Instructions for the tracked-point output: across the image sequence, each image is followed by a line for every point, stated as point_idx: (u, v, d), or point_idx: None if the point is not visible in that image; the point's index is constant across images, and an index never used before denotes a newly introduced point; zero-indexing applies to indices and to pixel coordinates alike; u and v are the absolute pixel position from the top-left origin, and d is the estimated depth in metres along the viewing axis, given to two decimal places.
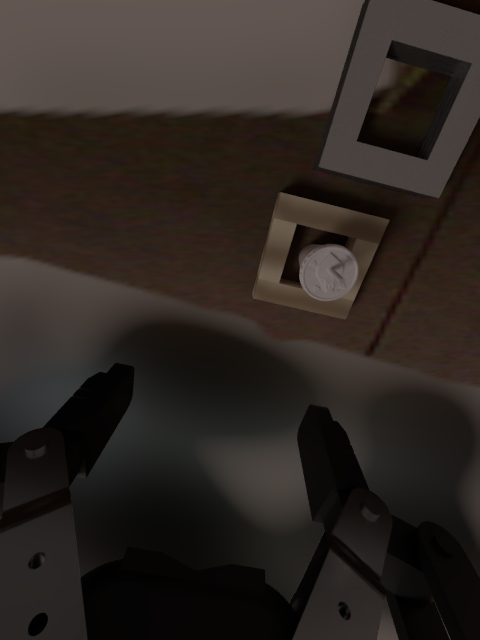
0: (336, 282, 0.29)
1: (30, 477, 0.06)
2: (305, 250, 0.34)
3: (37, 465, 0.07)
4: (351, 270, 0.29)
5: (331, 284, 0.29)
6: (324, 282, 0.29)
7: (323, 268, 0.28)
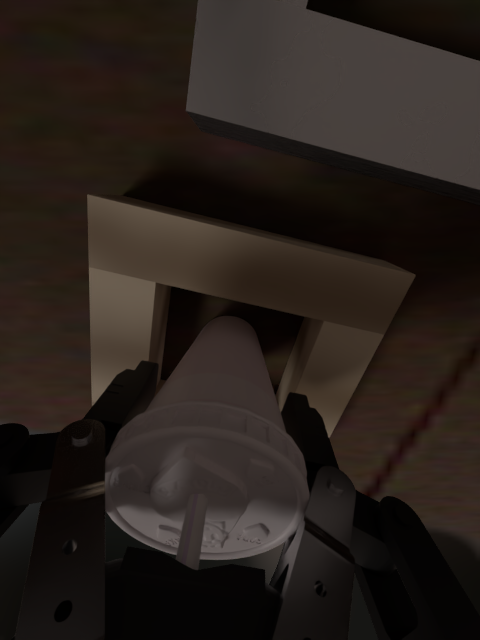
0: (231, 526, 0.08)
1: (80, 463, 0.07)
2: None
3: (80, 454, 0.07)
4: (282, 491, 0.08)
5: (213, 531, 0.08)
6: None
7: (170, 494, 0.07)
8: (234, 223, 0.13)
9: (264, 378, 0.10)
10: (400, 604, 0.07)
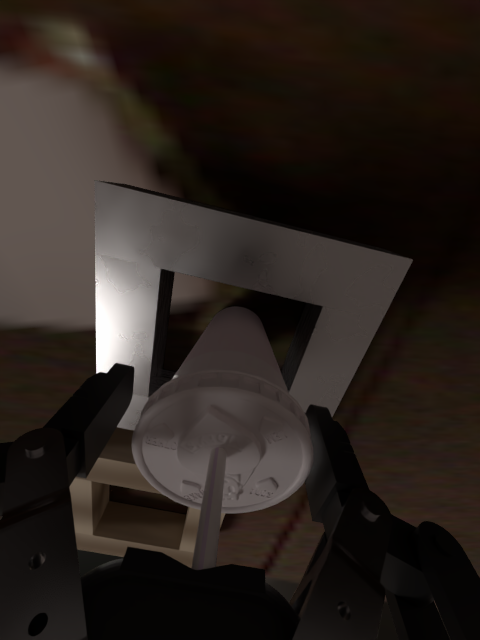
0: (245, 479, 0.09)
1: (30, 477, 0.06)
2: (203, 333, 0.14)
3: (38, 465, 0.07)
4: (290, 448, 0.09)
5: (230, 484, 0.09)
6: None
7: (195, 449, 0.09)
8: None
9: (271, 358, 0.12)
10: None
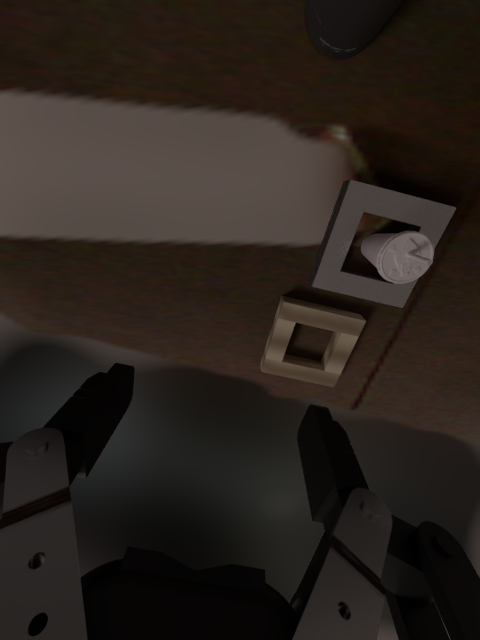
0: (412, 266, 0.32)
1: (30, 477, 0.06)
2: (373, 238, 0.37)
3: (38, 465, 0.07)
4: (426, 255, 0.31)
5: (407, 268, 0.32)
6: (401, 266, 0.32)
7: (402, 253, 0.31)
8: (314, 303, 0.45)
9: None
10: None
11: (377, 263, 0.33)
